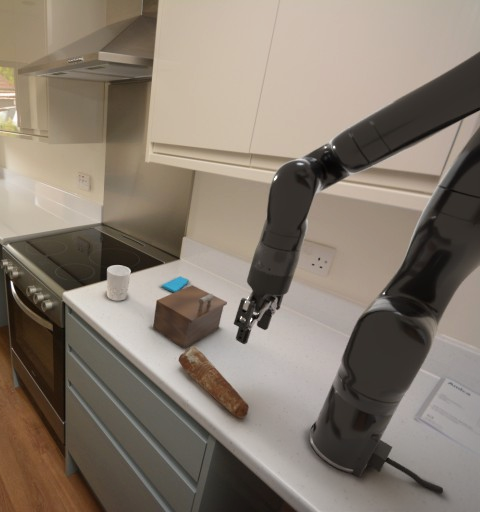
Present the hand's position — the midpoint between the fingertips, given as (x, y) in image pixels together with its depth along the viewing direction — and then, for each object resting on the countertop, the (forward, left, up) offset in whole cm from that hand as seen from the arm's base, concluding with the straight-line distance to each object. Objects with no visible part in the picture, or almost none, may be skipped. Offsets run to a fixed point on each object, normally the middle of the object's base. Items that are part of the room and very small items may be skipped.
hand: (251, 334), depth 72 cm
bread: (+4, +2, -17) cm, 18 cm away
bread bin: (+23, -12, -17) cm, 31 cm away
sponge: (+42, -32, -17) cm, 55 cm away
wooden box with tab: (+23, -12, -8) cm, 27 cm away
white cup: (+49, -8, -17) cm, 53 cm away
